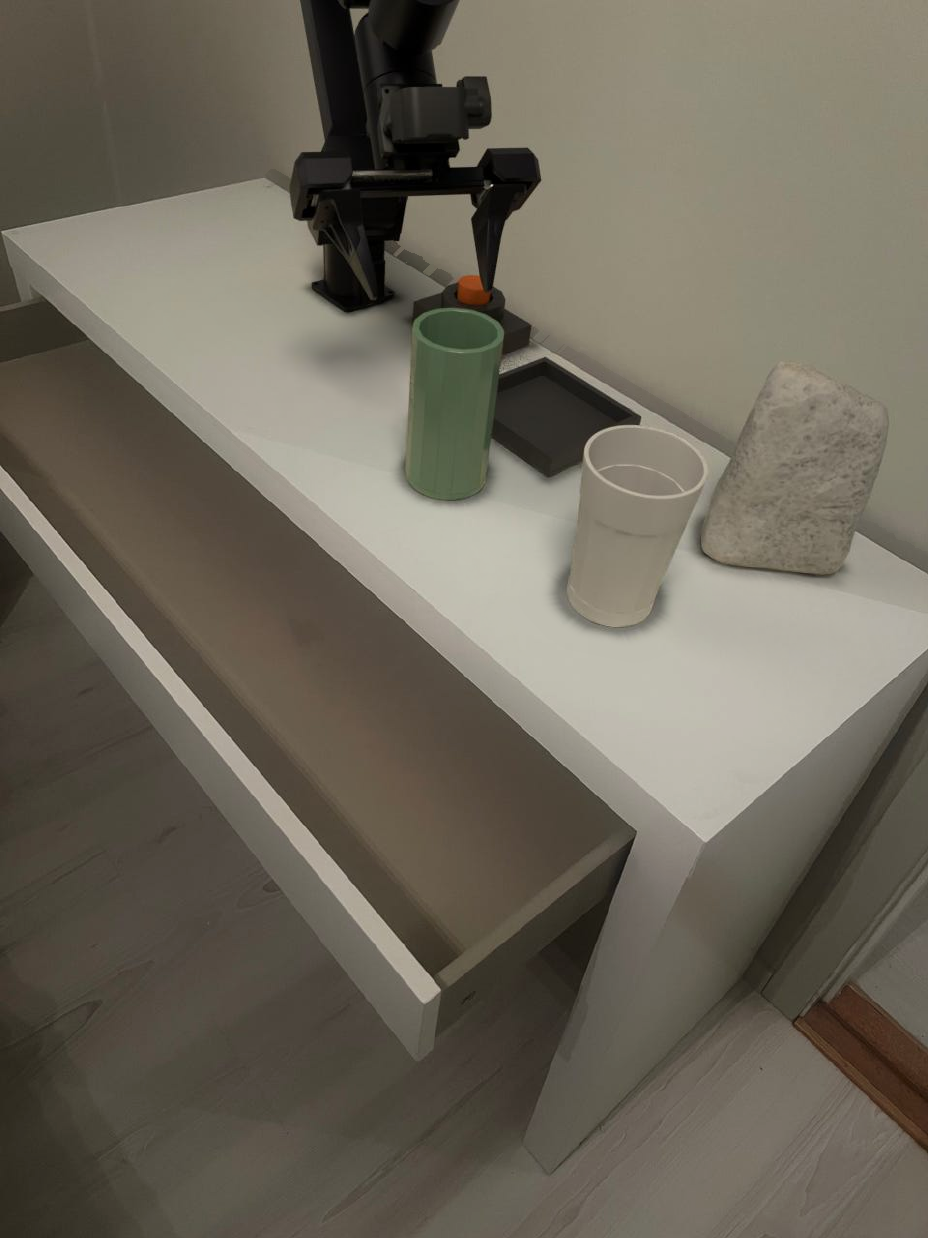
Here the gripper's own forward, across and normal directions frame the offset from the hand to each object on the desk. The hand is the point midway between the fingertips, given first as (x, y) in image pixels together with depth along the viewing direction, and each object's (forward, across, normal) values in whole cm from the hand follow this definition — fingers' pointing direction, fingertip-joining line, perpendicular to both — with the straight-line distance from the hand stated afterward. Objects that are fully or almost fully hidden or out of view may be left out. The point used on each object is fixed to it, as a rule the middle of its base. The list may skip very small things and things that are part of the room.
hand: (432, 294), depth 72 cm
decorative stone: (+24, +22, -6) cm, 33 cm away
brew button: (-5, +10, +18) cm, 21 cm away
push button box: (-3, +10, +20) cm, 22 cm away
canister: (+13, 0, +4) cm, 14 cm away
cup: (+25, +8, -7) cm, 27 cm away
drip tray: (+9, +11, +8) cm, 17 cm away
